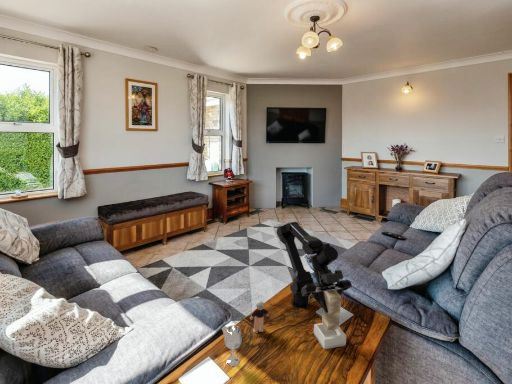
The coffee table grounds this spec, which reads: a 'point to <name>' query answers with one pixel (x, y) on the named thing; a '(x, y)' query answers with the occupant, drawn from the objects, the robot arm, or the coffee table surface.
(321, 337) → the post socket
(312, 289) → the robot arm
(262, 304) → the grandmother figurine
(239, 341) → the wineglass
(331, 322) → the birch post block
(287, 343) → the coffee table surface
